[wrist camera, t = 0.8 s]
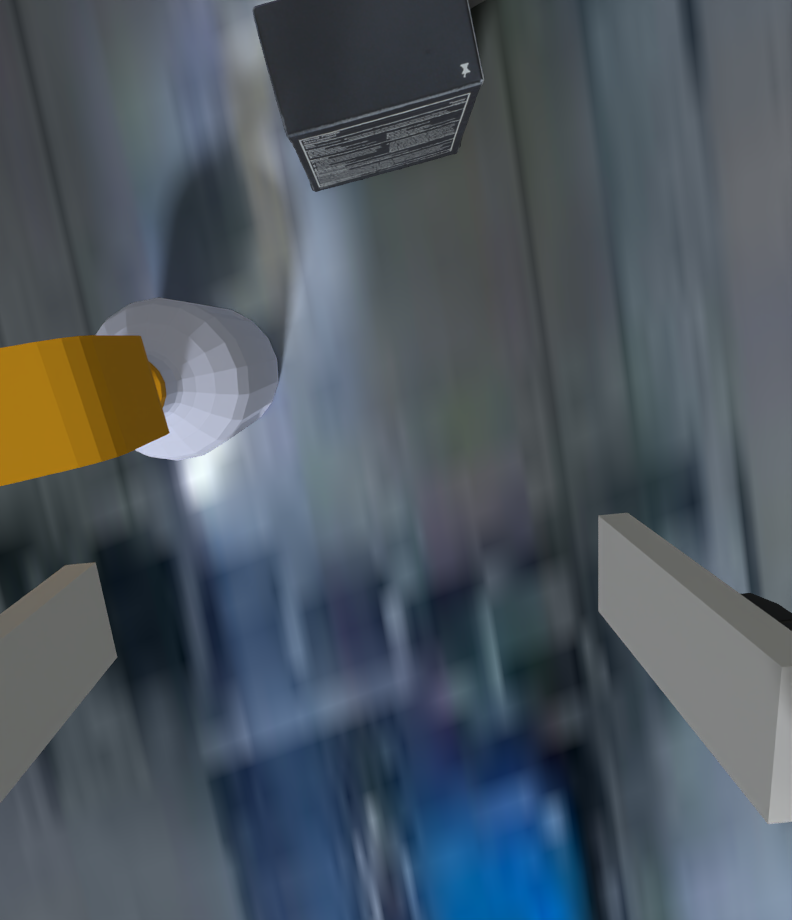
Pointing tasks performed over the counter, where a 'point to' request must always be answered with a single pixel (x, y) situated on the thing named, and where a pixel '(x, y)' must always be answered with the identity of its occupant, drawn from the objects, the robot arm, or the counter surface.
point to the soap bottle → (133, 389)
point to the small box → (370, 81)
